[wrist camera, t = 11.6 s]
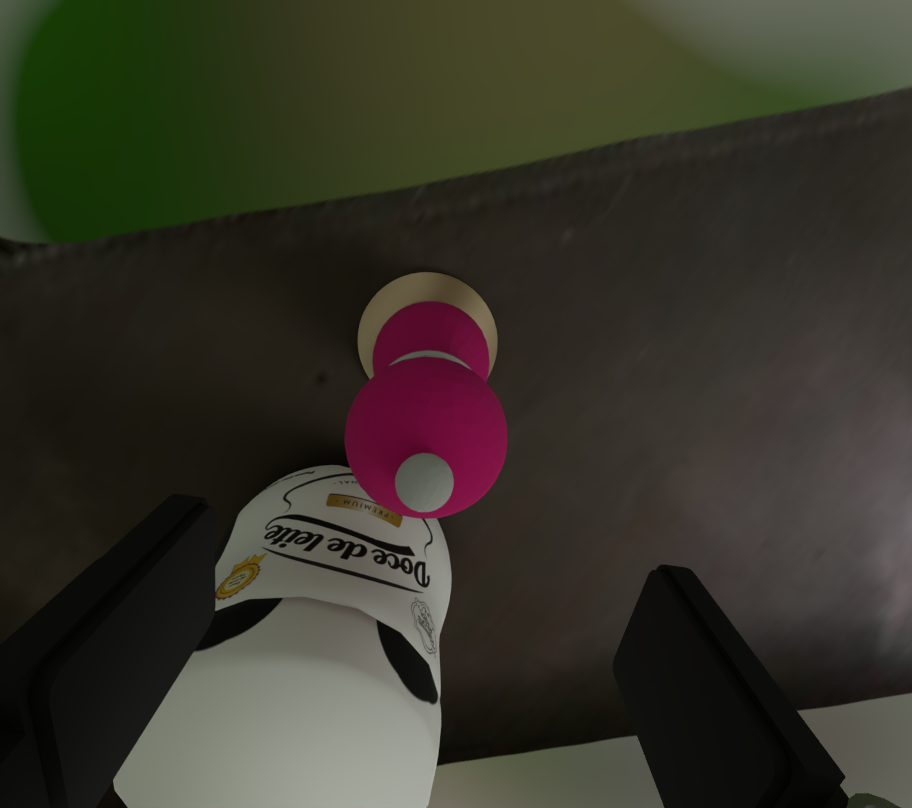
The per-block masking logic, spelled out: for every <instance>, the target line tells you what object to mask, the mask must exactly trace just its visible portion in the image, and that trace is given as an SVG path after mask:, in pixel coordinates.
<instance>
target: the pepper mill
mask: <svg viewBox="0 0 912 808" xmlns="http://www.w3.org/2000/svg"><path fill="white" fill-rule="evenodd" d="M372 364H373V373H374V376H373V377H372V378H371V379H370V380H369V381H368V382H367V383H366V384H365V385H364V387H363V388H362V389H361V390H360V391H359V392H358V394H357V396H356V398H355V400H354V402H353V404H352V406H351V408H350V411H349V415H348V418H347V423H346V428H345V450H346V455H347V461H348V463H349V466H350V468H351V471H352V473H353V475H354V477H355V479H356V480H357V482H358V484H359V485H360V487H361V488H362V489H363V490H364V491H365V492H366V493H367V495H368V496H369V497H370V498H371V499H373V500H374V501H375V502H376V503H378V504H379V505H380V506H382V507H384V508H386V509H388V510H390V511H392V512H394V513H396V514H399V515H402V516H406V517H412V518H419V519H429V518H440V517H445V516H449V515H452V514H454V513H457V512H459V511H462V510H464V509H466V508H467V507H469V506H471V505H473V504H474V503H476V502H477V501H478V500H479V499H480V498H481V497H483V496H484V495H485V494H486V493H487V492H488V490H489V489H490V488H491V486H492V485H493V484H494V482H495V481H496V479H497V477H498V475H499V473H500V471H501V468H502V466H503V463H504V461H505V456H506V449H507V425H506V420H505V416H504V413H503V409H502V406H501V404H500V402H499V400H498V398H497V397H496V395H495V394H494V392H493V391H492V389H491V388H490V386H489V385H488V384H487V383H486V381H487V377H488V373H489V365H490V361H489V350H488V345H487V341H486V339H485V337H484V334H483V332H482V330H481V329H480V327H479V326H478V324H477V323H476V322H475V321H474V320H473V319H472V318H471V317H470V316H469V315H468V314H467V313H465V312H464V311H463V310H461V309H459V308H457V307H455V306H453V305H450V304H447V303H443V302H437V301H424V302H418V303H414V304H411V305H408V306H406V307H404V308H402V309H401V310H399V311H397V312H396V313H395V314H393V315H392V316H391V317H390V318H389V319H388V320H387V322H386V323H385V324H384V325H383V326H382V328H381V330H380V332H379V334H378V336H377V339H376V342H375V345H374V349H373V358H372Z"/></svg>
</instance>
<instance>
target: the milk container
mask: <svg viewBox="0 0 912 808" xmlns="http://www.w3.org/2000/svg"><path fill="white" fill-rule="evenodd" d="M215 593H216V607H215V614H214V617H213V620H212V622H211V625H210V626H209V628H208V630H207V631H206V633H205V635H204V636H203V638H202V639H201V641H200V643H199V644H198V646H197V647H196V649H195V650H194V652H193V654H192V655H191V657H190V658H189V660H188V662H187V663H186V665H185V666H184V668H183V670H182V671H181V673H180V674H179V676H178V677H177V679H176V681H175V682H174V684H173V685H172V687H171V689H170V690H169V692H168V693H167V695H166V697H165V698H164V700H163V701H162V703H161V705H160V706H159V708H158V709H157V711H156V712H155V714H154V716H153V717H152V719H151V720H150V722H149V724H148V725H147V727H146V728H145V730H144V732H143V733H142V735H141V736H140V738H139V739H138V741H137V743H136V744H135V746H134V747H133V749H132V751H131V752H130V754H129V755H128V757H127V759H126V760H125V762H124V763H123V765H122V766H121V768H120V770H119V771H118V773H117V774H116V776H115V778H114V779H113V782H114V788H115V791H116V792H117V794H118V795H119V796H120V798H121V799H122V800H123V802H124V803H125V804H126V806H127V807H128V808H426V807H427V806H428V803H429V799H430V793H431V789H432V784H433V779H434V775H435V769H436V764H437V759H438V752H439V741H440V731H441V708H440V687H441V685H440V659H439V635H440V632H441V628H442V625H443V622H444V619H445V616H446V612H447V608H448V604H449V600H450V593H451V564H450V558H449V552H448V547H447V544H446V541H445V538H444V534H443V532H442V529H441V527H440V525H439V522H438V520H437V519H436V518H429V519H419V518H412V517H406V516H402V515H399V514H396V513H394V512H392V511H390V510H388V509H386V508H384V507H382V506H380V505H379V504H378V503H376V502H375V501H374V500H373V499H371V498H370V497H369V496H368V495H367V493H366V492H365V491H364V490H363V489H362V488H361V487H360V485H359V484H358V482H357V480H356V479H355V477H354V475H353V473H352V471H351V468H350V466H349V465H325V466H316V467H311V468H307V469H303V470H300V471H297V472H294V473H292V474H289V475H287V476H285V477H283V478H281V479H279V480H278V481H276V482H275V483H273V484H272V485H270V486H269V487H267V488H266V489H265V490H263V491H262V492H261V493H260V494H258V495H257V496H256V497H255V498H254V499H253V500H252V501H251V502H249V503H248V504H247V505H246V506H245V507H244V508H243V509H242V511H241V512H240V513H239V514H238V515H237V517H236V518H235V519H234V521H233V522H232V523H231V525H230V526H229V528H228V529H227V531H226V533H225V534H224V536H223V538H222V540H221V542H220V544H219V546H218V549H217V551H216V554H215Z"/></svg>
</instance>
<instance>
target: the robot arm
mask: <svg viewBox="0 0 912 808" xmlns="http://www.w3.org/2000/svg"><path fill="white" fill-rule="evenodd" d="M215 607H216V593H215V510H214V508H213V507H211V506H208V505H207V501H206V499H204V498H201V497H194V496H187V495H180V494H173V495H171V496H170V497H168V498H167V499H166V500H165V501H164V502H163V503H162V504H160V505H159V506H158V507H157V508H156V509H155V510H154V511H153V512H152V513H150V514H149V515H148V516H147V517H146V518H145V519H144V520H143V521H141V522H140V523H139V524H138V525H137V526H136V527H135V528H134V529H133V530H131V531H130V532H129V533H128V534H127V535H126V536H125V537H124V538H123V539H121V540H120V541H119V542H118V543H117V544H116V545H115V546H114V547H113V548H111V549H110V550H109V551H108V552H107V553H106V554H105V555H104V556H102V557H101V558H99V559H98V560H96V561H95V562H94V563H92V564H91V565H90V566H89V567H88V568H86V569H85V570H84V571H83V572H82V573H81V574H80V575H79V576H77V577H76V578H75V579H74V580H73V581H72V582H71V583H70V584H68V585H67V586H66V587H65V588H64V589H63V590H62V591H61V592H59V593H58V594H57V595H56V596H55V597H54V598H53V599H52V600H50V601H49V602H48V603H47V604H46V605H45V606H44V607H43V608H42V609H40V610H39V611H38V612H37V613H36V614H35V615H34V616H33V617H31V618H30V619H29V620H28V621H27V622H26V623H25V624H24V625H22V626H21V627H20V628H19V629H18V630H17V631H16V632H15V633H13V634H12V635H11V636H10V637H9V638H8V639H7V640H6V641H4V642H3V643H2V644H1V645H0V808H96V806H97V805H98V803H99V801H100V800H101V798H102V797H103V795H104V793H105V792H106V790H107V789H108V787H109V786H110V784H111V782H112V781H113V779H114V778H115V776H116V774H117V773H118V771H119V770H120V768H121V766H122V765H123V763H124V762H125V760H126V759H127V757H128V755H129V754H130V752H131V751H132V749H133V747H134V746H135V744H136V743H137V741H138V739H139V738H140V736H141V735H142V733H143V732H144V730H145V728H146V727H147V725H148V724H149V722H150V720H151V719H152V717H153V716H154V714H155V712H156V711H157V709H158V708H159V706H160V705H161V703H162V701H163V700H164V698H165V697H166V695H167V693H168V692H169V690H170V689H171V687H172V685H173V684H174V682H175V681H176V679H177V677H178V676H179V674H180V673H181V671H182V670H183V668H184V666H185V665H186V663H187V662H188V660H189V658H190V657H191V655H192V654H193V652H194V650H195V649H196V647H197V646H198V644H199V643H200V641H201V639H202V638H203V636H204V635H205V633H206V631H207V630H208V628H209V626H210V625H211V622H212V620H213V617H214V614H215ZM613 671H614V676H615V679H616V682H617V684H618V687H619V689H620V692H621V695H622V697H623V700H624V703H625V705H626V708H627V710H628V713H629V716H630V718H631V721H632V724H633V726H634V729H635V731H636V734H637V737H638V739H639V742H640V744H641V747H642V750H643V752H644V755H645V758H646V760H647V763H648V765H649V768H650V771H651V773H652V776H653V778H654V781H655V784H656V786H657V789H658V792H659V794H660V797H661V800H662V802H663V805H664V807H665V808H901V807H899V806H897V805H895V804H893V803H892V802H890V801H888V800H886V799H884V798H881V797H878V796H875V795H872V794H869V793H856V794H855V795H853V796H852V797H850V798H848V796H847V795H846V794H845V792H844V791H843V789H842V788H841V787H840V784H841V783H842V781H843V780H844V779H845V775H844V774H843V773H842V771H841V770H840V769H839V767H838V766H837V765H836V763H835V762H834V761H833V759H832V758H831V757H830V755H829V754H828V752H827V751H826V750H825V749H824V747H823V746H822V744H821V743H820V742H819V740H818V739H817V738H816V736H815V735H814V734H813V732H812V731H811V730H810V728H809V727H808V726H807V725H806V723H805V721H804V720H803V719H802V717H801V716H800V715H799V713H798V712H797V711H796V709H795V708H794V707H793V705H792V704H791V703H790V701H789V700H788V699H787V697H786V696H785V695H784V693H783V692H782V691H781V689H780V688H779V687H778V685H777V684H776V683H775V681H774V680H773V678H772V677H771V676H770V674H769V673H768V672H767V670H766V669H765V668H764V666H763V665H762V664H761V662H760V661H759V660H758V658H757V657H756V656H755V654H754V653H753V652H752V650H751V649H750V648H749V646H748V645H747V644H746V642H745V641H744V639H743V638H742V637H741V635H740V634H739V633H738V631H737V630H736V629H735V627H734V626H733V625H732V623H731V622H730V621H729V619H728V618H727V617H726V615H725V614H724V613H723V611H722V610H721V609H720V607H719V606H718V605H717V603H716V602H715V600H714V599H713V598H712V596H711V595H710V594H709V592H708V591H707V590H706V588H705V587H704V586H703V584H702V583H701V582H700V580H699V579H698V578H697V576H696V575H695V574H694V572H693V571H692V570H691V569H688V568H685V567H678V566H671V565H660V566H659V567H657V569H656V570H652V571H651V572H650V573H649V575H648V577H647V580H646V582H645V584H644V587H643V589H642V592H641V594H640V597H639V599H638V601H637V604H636V606H635V609H634V611H633V614H632V616H631V618H630V621H629V623H628V626H627V628H626V630H625V633H624V635H623V638H622V640H621V643H620V645H619V647H618V650H617V652H616V655H615V657H614V661H613Z"/></svg>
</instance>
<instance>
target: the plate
mask: <svg viewBox="0 0 912 808" xmlns="http://www.w3.org/2000/svg"><path fill="white" fill-rule="evenodd" d="M424 301H437V302H443V303H447V304H450V305H453V306H455V307H457V308H459V309H461V310H463V311H464V312H465V313H467V314H468V315H469V316H470V317H471V318H472V319H473V320H474V321H475V322H476V323H477V324H478V326H479V327H480V329H481V330H482V332H483V334H484V337H485V339H486V341H487V345H488V350H489V361H490V365H489V373H488V376H489V374H490V372H491V370H492V368H493V365H494V362H495V359H496V354H497V340H498V339H497V330H496V326H495V322H494V319H493V317H492V314H491V312H490V310H489V309H488V307H487V305H486V304H485V302H484V301H483V300H482V298H481V297H480V296H479V295H478V294H477V293H476V292H475V291H474V290H473V289H472V288H471V287H469V286H468V285H467V284H465V283H464V282H462V281H460V280H458V279H456V278H454V277H451V276H449V275H445V274H441V273H434V272H419V273H413V274H409V275H405V276H402V277H400V278H398V279H396V280H394V281H392V282H390V283H389V284H387V285H386V286H385V287H383V288H382V289H381V290H380V291H379V292H378V293H377V294H376V295H375V296H374V297H373V298H372V300H371V301H370V303H369V304H368V306H367V307H366V309H365V311H364V313H363V315H362V318H361V322H360V325H359V331H358V351H359V356H360V360H361V363H362V365H363V368H364V370H365V372H366V374H367V376H368V377H369V379H371V378H372V377H373V376H374V373H373V364H372V358H373V349H374V345H375V342H376V339H377V336H378V334H379V332H380V330H381V328H382V326H383V325H384V324H385V323H386V322H387V320H388V319H389V318H390V317H391V316H392V315H393V314H395V313H396V312H397V311H399V310H401V309H402V308H404V307H406V306H408V305H411V304H414V303H418V302H424ZM487 378H488V377H487Z"/></svg>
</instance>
